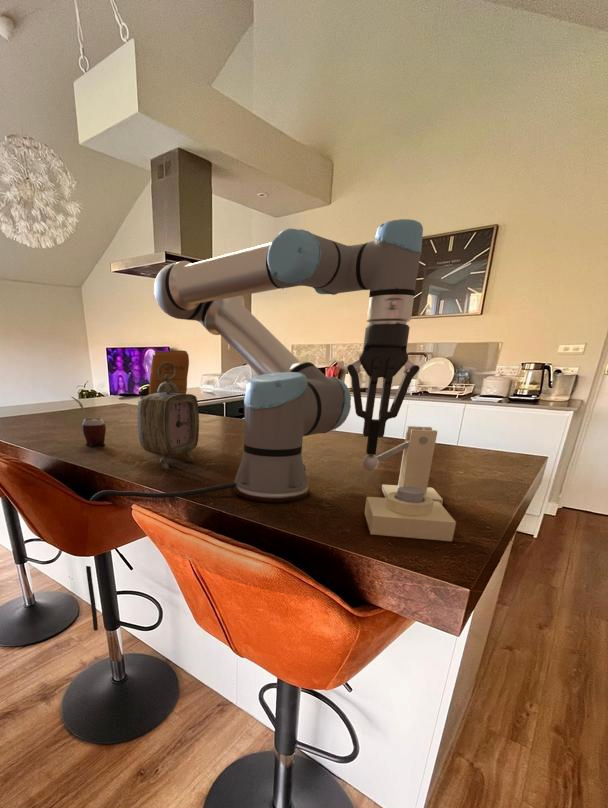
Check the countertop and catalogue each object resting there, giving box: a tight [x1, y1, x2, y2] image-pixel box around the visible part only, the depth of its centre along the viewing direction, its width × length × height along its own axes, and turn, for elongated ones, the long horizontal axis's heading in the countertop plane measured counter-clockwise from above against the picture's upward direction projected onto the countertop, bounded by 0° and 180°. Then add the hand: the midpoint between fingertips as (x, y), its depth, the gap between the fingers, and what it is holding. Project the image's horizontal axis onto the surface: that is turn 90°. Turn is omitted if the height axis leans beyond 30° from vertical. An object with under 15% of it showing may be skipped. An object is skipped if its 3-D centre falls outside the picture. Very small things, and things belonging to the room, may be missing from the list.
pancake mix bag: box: [148, 349, 190, 395], centre depth 125 cm, size 7×19×28 cm, turn 148°
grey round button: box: [396, 487, 424, 503], centre depth 68 cm, size 4×4×2 cm
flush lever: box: [362, 428, 426, 471], centre depth 83 cm, size 13×3×3 cm
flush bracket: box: [381, 425, 444, 506], centre depth 83 cm, size 10×8×14 cm
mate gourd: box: [71, 396, 107, 448], centre depth 129 cm, size 8×8×15 cm
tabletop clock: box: [136, 362, 200, 471], centre depth 104 cm, size 14×9×25 cm, turn 150°
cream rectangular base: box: [364, 492, 457, 542], centre depth 69 cm, size 12×10×5 cm
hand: (370, 453), depth 84 cm, fingers closed
